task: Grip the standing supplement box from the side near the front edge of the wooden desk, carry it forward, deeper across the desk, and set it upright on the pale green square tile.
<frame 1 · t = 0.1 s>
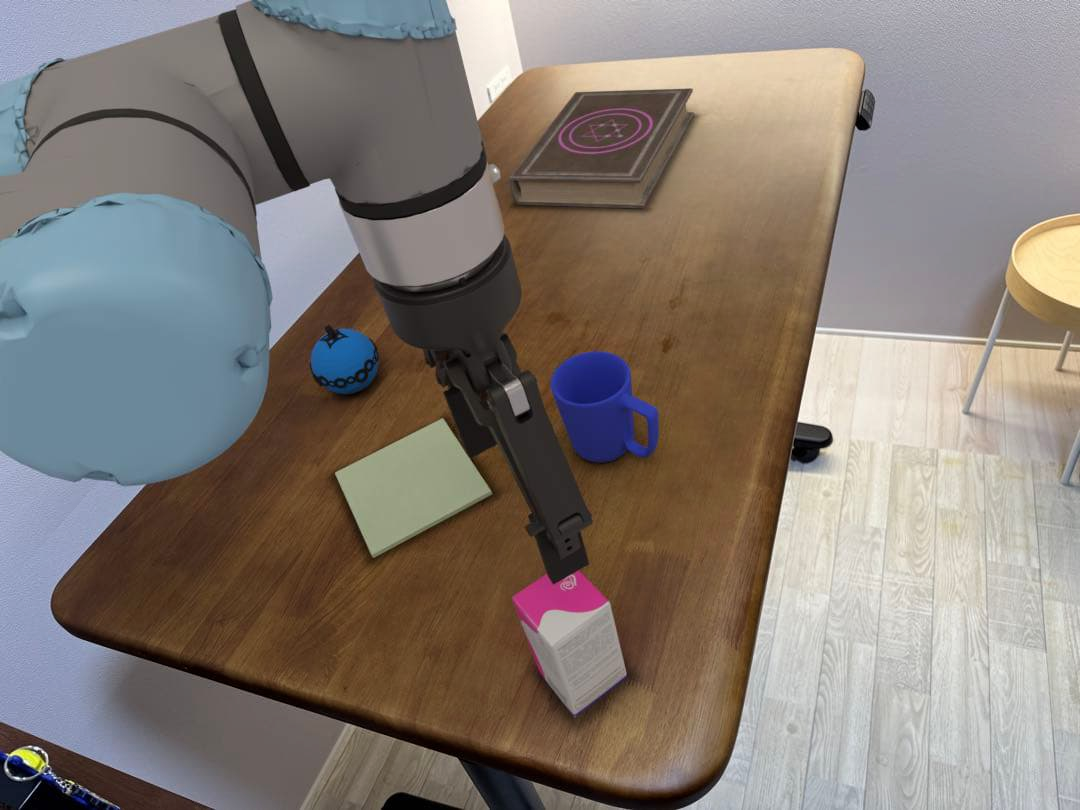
hand: (522, 504, 55), 20 cm above the table, tool pointing down, fingers open, 13 cm apart
mug: (617, 451, 85), on the table
supplement box: (583, 673, 67), on the table
pale green square tile: (411, 484, 87), on the table
ornament: (357, 386, 102), on the table
book: (607, 159, 133), on the table
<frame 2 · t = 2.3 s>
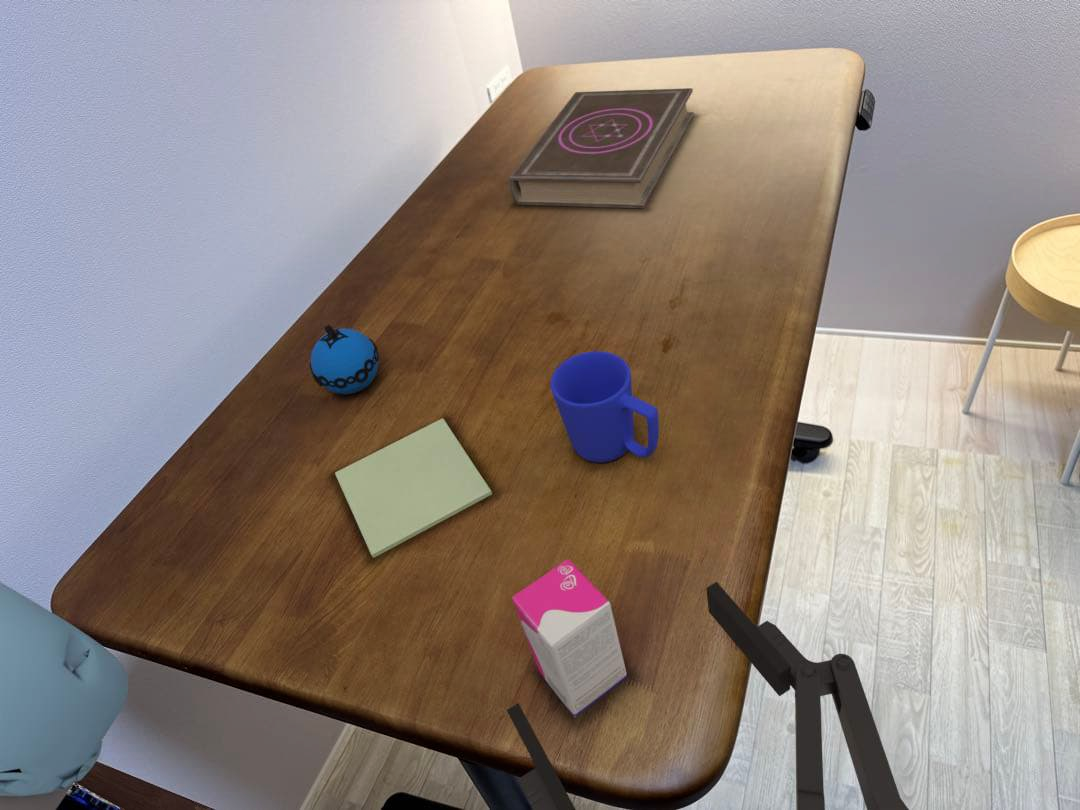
hand: (617, 654, 46), 20 cm above the table, tool horizontal, fingers open, 13 cm apart
nothing on the table moved.
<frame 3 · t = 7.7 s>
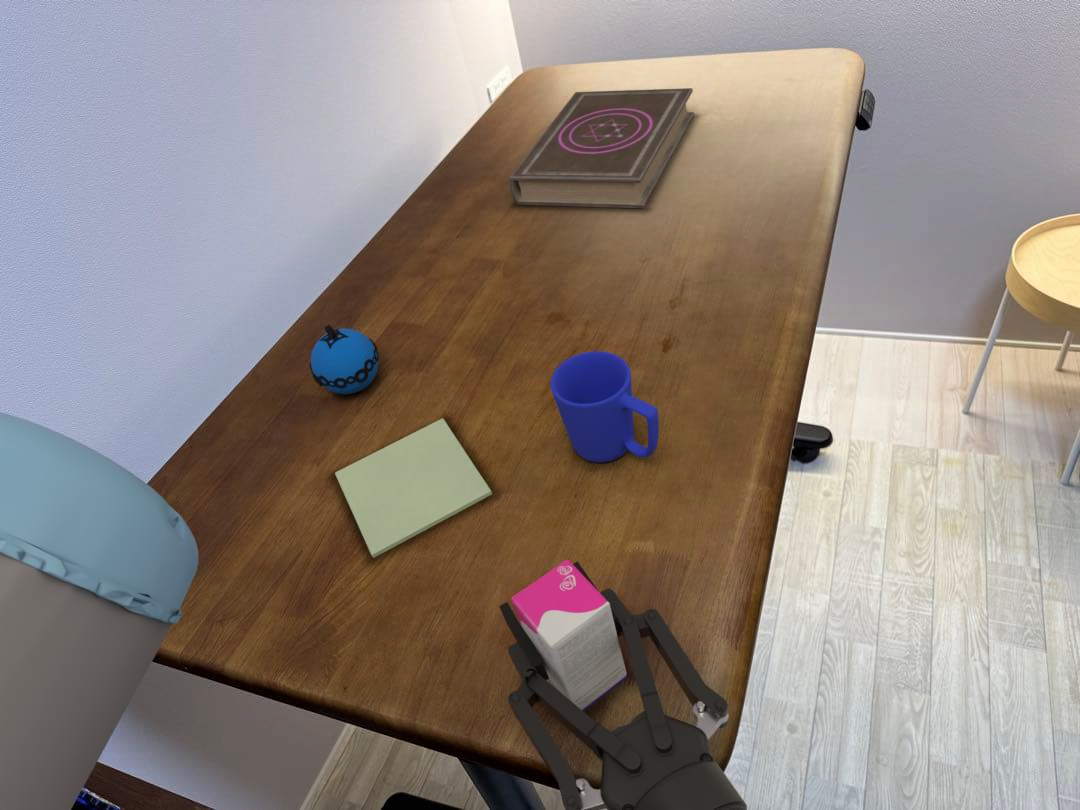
hand: (542, 592, 66), 6 cm above the table, tool horizontal, fingers closed on supplement box, 6 cm apart
supplement box: (583, 674, 67), on the table, touching gripper
everything else where it was.
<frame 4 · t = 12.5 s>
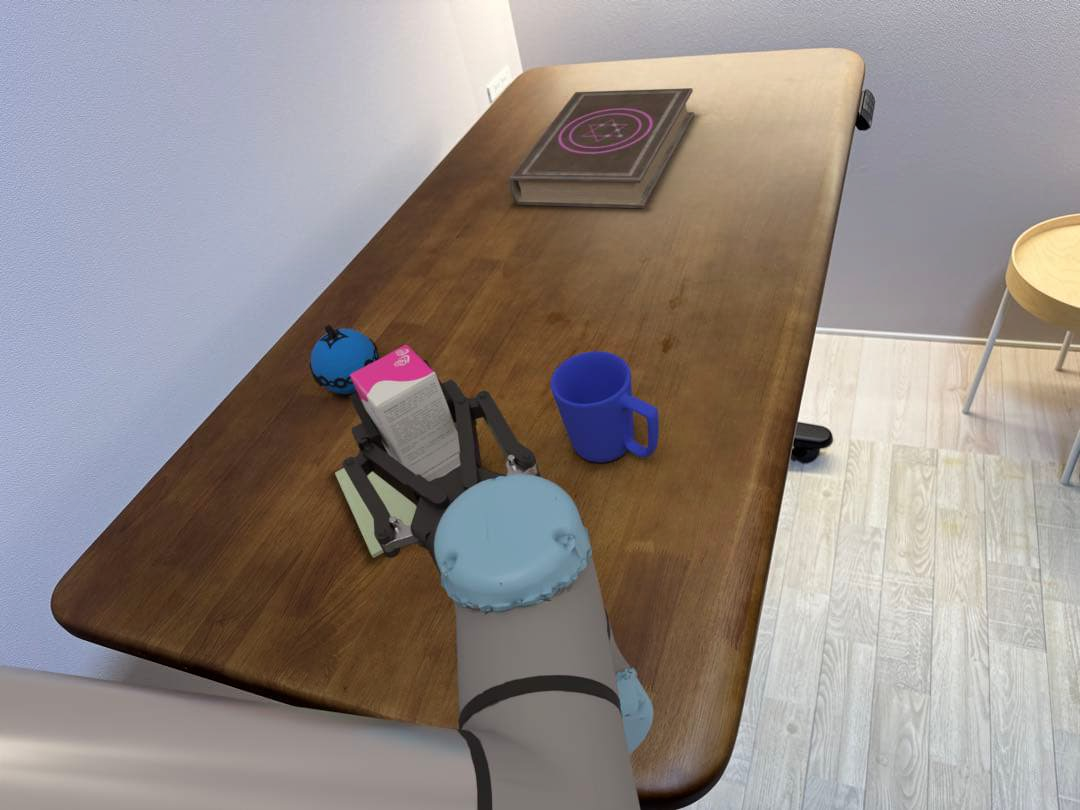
hand: (392, 388, 71), 18 cm above the table, tool horizontal, fingers closed on supplement box, 6 cm apart
supplement box: (431, 466, 72), point 12 cm above the table, touching gripper
everything else where it was.
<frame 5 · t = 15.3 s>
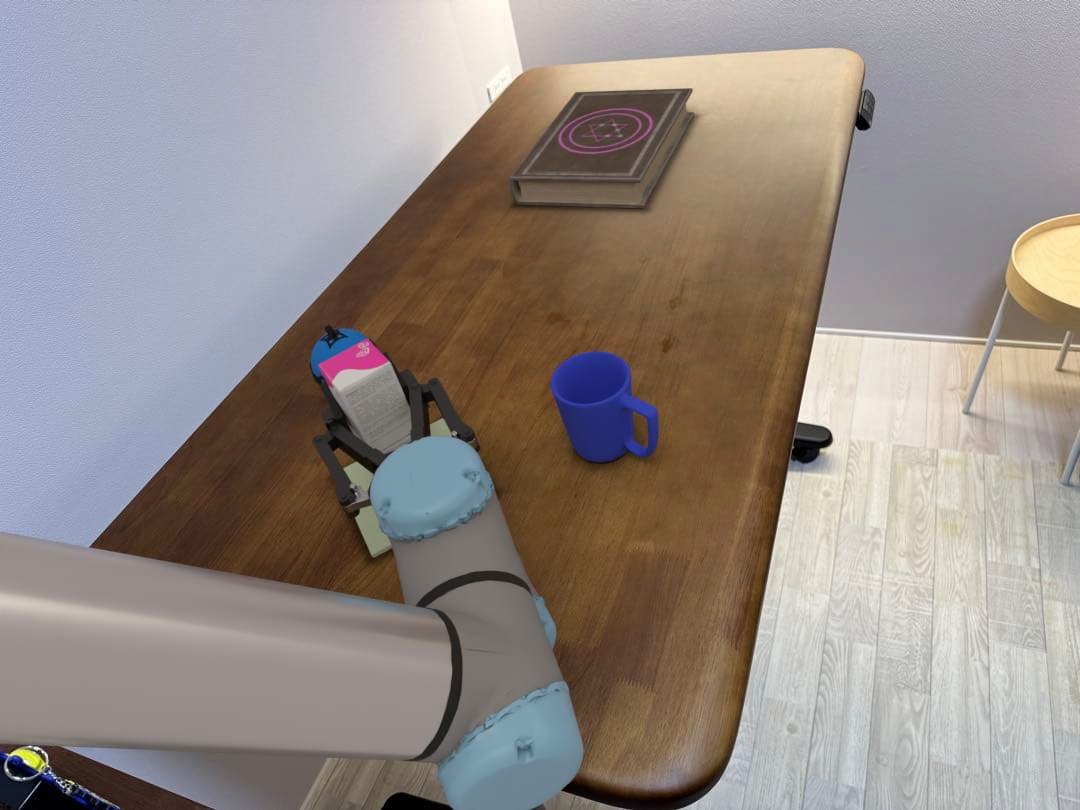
hand: (357, 377, 82), 13 cm above the table, tool horizontal, fingers closed on supplement box, 6 cm apart
supplement box: (392, 445, 83), point 7 cm above the table, touching gripper
everything else where it was.
when the fingers open (7 cm above the table, at t = 17.4 s): supplement box stays where it is, resting on pale green square tile.
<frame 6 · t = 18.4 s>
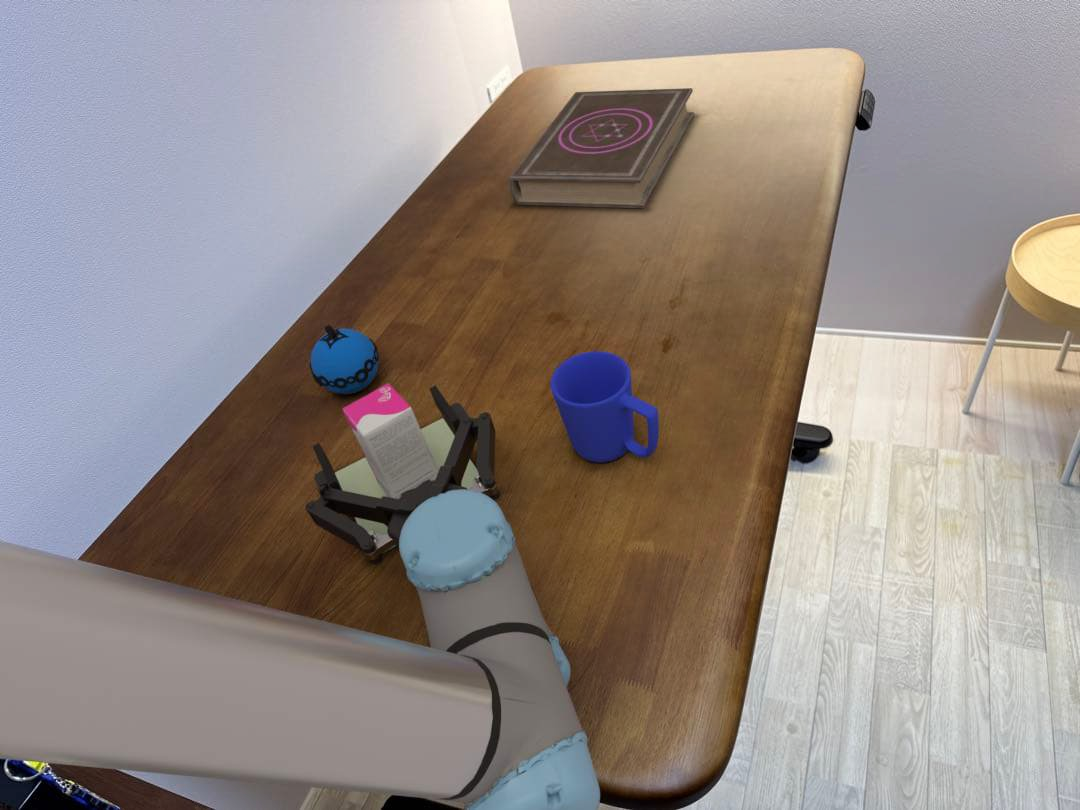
hand: (379, 423, 84), 8 cm above the table, tool horizontal, fingers open, 13 cm apart
supplement box: (410, 482, 87), resting on pale green square tile
everything else where it was.
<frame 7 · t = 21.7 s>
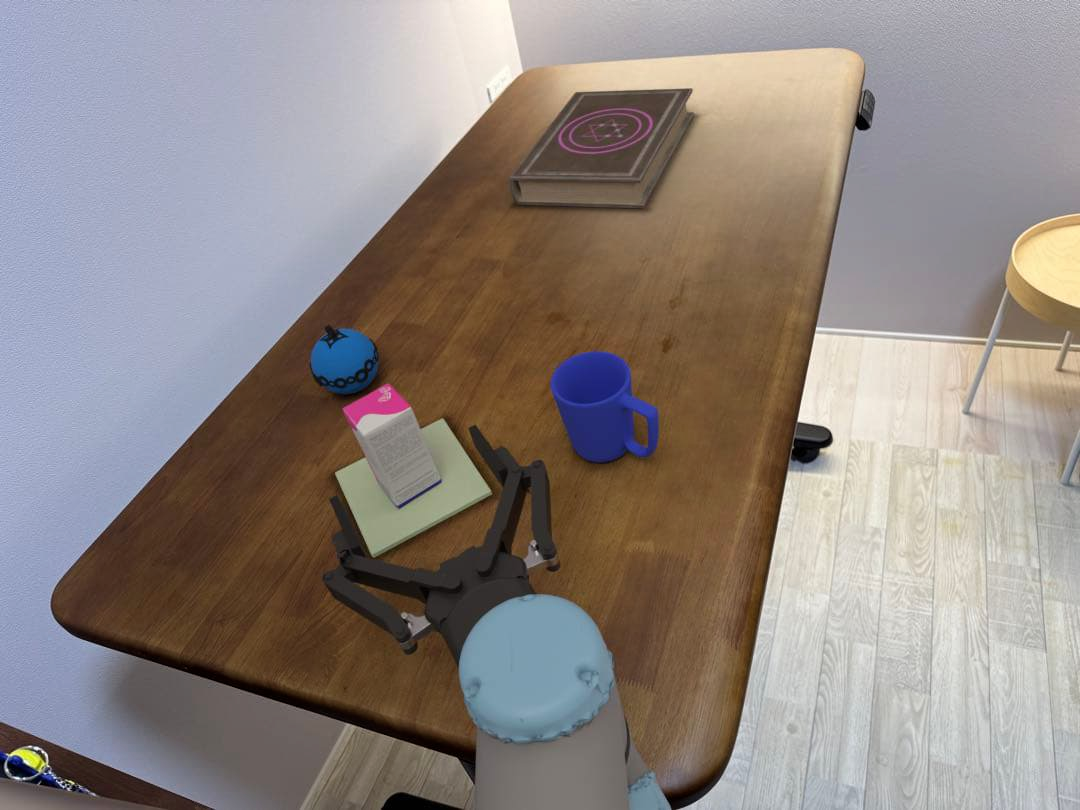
hand: (408, 470, 70), 13 cm above the table, tool horizontal, fingers open, 13 cm apart
nothing on the table moved.
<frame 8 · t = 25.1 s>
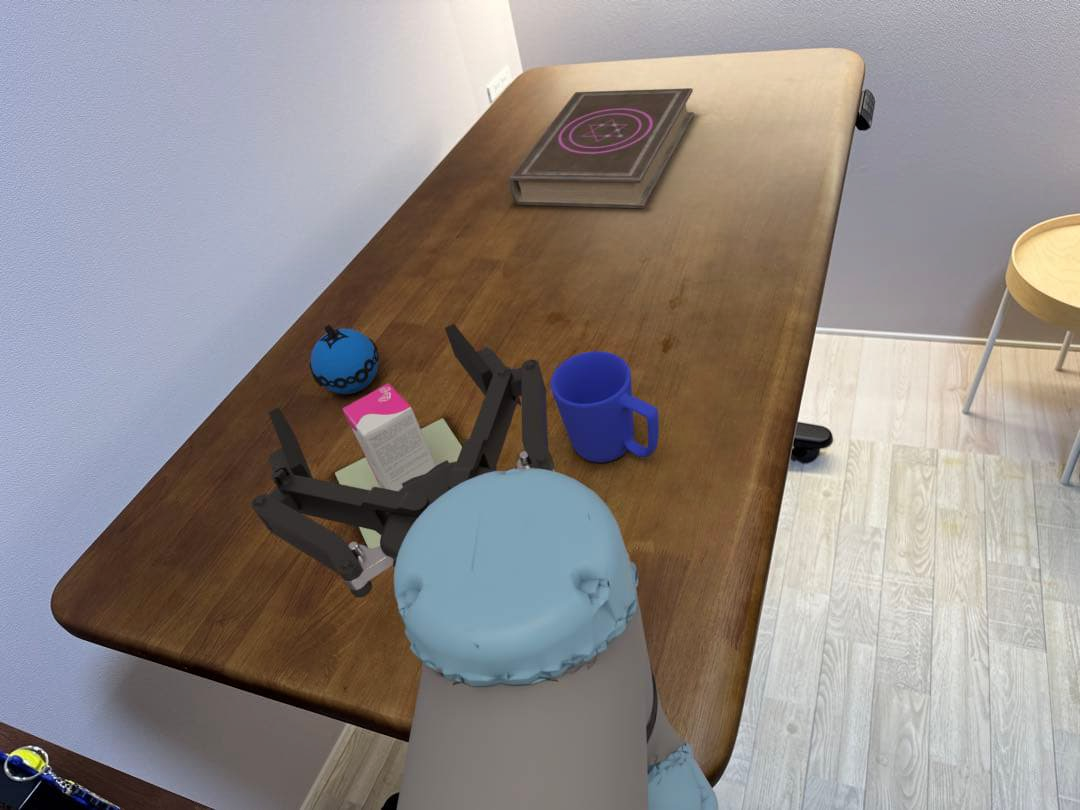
hand: (370, 380, 56), 28 cm above the table, tool horizontal, fingers open, 13 cm apart
nothing on the table moved.
at the end: supplement box inside the target area on the pale green square tile (0.0 cm from its centre), point 0.4 cm above the pale green square tile's base; supplement box tilted 0°; the gripper is holding nothing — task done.
